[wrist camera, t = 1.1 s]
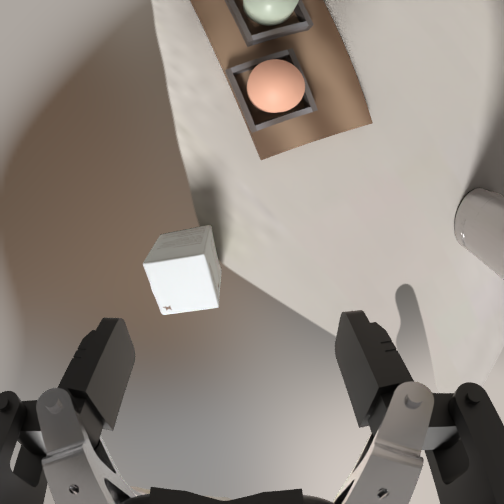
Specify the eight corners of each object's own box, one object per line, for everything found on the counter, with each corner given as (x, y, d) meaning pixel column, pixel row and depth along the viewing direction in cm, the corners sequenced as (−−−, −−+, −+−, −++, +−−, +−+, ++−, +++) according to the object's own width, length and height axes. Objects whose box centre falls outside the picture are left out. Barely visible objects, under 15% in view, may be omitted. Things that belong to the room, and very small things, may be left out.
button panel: (266, -76, 15) (270, -93, 12) (364, 122, 27) (381, 124, 23) (165, -48, 17) (157, -64, 13) (259, 157, 29) (262, 163, 25)
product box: (222, 271, 34) (220, 309, 28) (173, 279, 34) (161, 317, 28) (211, 223, 31) (205, 252, 25) (159, 232, 32) (140, 263, 25)
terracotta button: (286, 59, 21) (292, 52, 18) (304, 103, 23) (312, 102, 20) (238, 75, 22) (238, 69, 19) (257, 119, 23) (260, 120, 21)
